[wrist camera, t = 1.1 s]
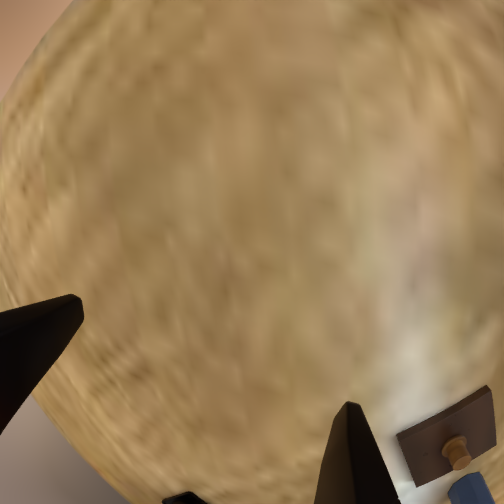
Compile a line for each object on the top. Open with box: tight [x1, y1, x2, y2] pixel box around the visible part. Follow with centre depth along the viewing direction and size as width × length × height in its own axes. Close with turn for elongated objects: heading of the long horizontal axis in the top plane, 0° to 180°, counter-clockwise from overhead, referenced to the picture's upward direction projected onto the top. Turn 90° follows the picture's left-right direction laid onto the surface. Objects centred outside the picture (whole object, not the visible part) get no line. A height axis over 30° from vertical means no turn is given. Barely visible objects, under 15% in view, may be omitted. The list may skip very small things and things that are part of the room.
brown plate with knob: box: [397, 385, 497, 488], centre depth 20 cm, size 10×9×4 cm
